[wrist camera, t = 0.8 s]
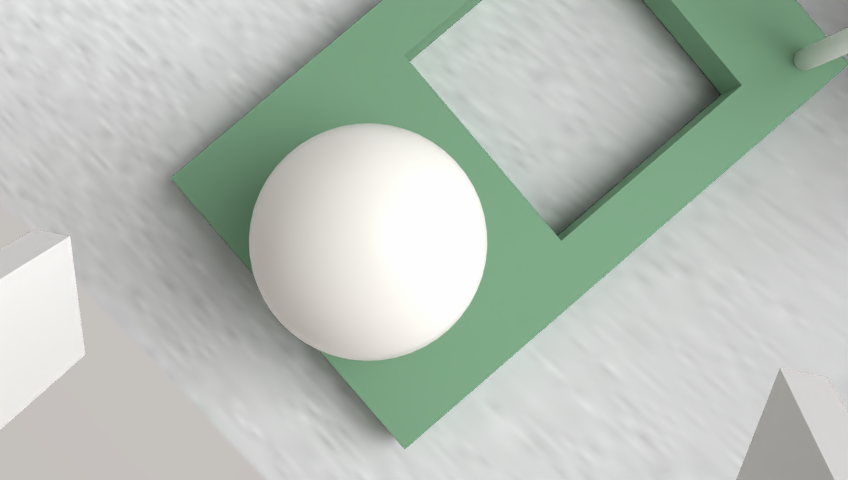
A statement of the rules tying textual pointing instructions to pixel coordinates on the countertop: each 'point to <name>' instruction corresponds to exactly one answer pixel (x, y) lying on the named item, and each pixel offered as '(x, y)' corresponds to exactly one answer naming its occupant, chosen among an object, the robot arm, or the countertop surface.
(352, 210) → the ball
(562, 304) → the green
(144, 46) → the countertop surface
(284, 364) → the countertop surface
